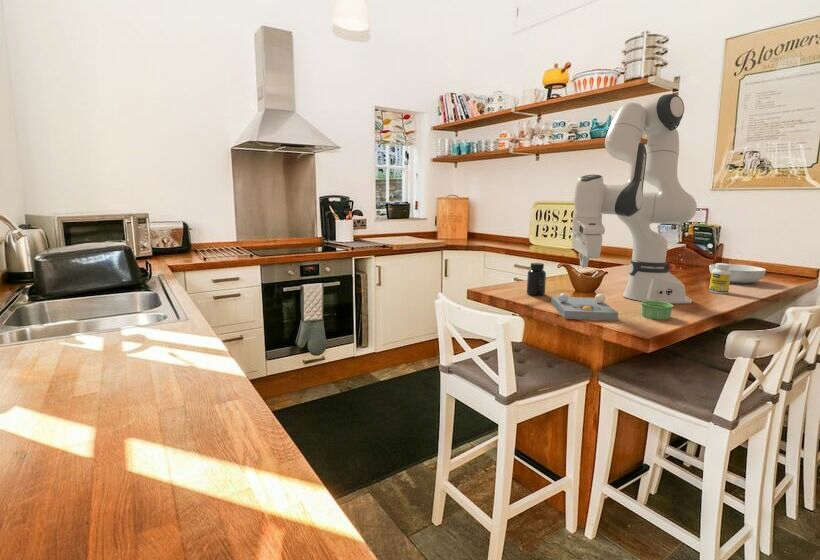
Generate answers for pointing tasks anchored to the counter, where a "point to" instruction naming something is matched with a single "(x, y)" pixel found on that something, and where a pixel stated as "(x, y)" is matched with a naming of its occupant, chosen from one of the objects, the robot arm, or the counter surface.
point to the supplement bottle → (536, 280)
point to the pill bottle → (720, 279)
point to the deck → (575, 311)
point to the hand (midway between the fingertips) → (583, 266)
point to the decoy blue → (563, 297)
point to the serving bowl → (743, 273)
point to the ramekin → (656, 310)
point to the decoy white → (599, 298)
